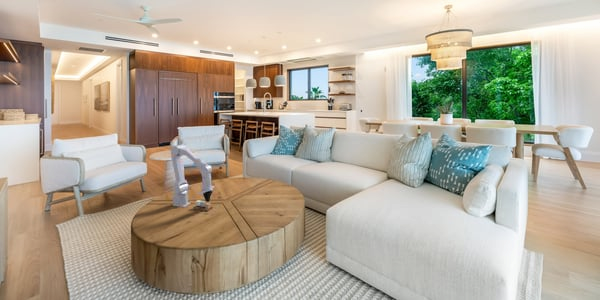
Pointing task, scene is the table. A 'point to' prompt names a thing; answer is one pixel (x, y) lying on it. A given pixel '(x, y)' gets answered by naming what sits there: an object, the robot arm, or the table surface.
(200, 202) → the key slate
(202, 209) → the brown flat frame
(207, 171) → the robot arm
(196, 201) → the cream cube
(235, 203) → the table surface
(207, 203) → the key terracotta
